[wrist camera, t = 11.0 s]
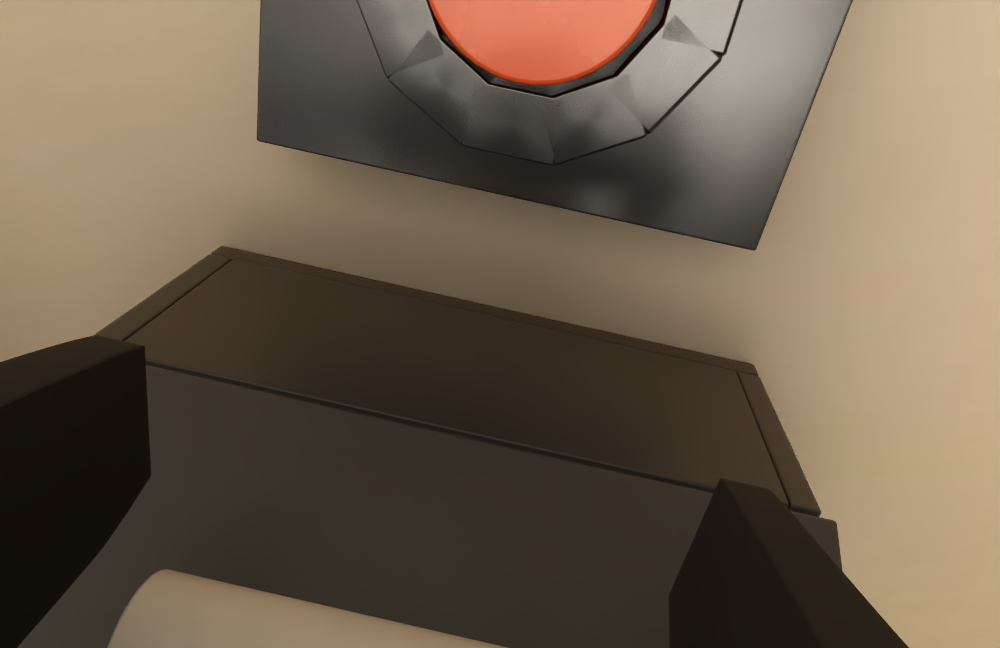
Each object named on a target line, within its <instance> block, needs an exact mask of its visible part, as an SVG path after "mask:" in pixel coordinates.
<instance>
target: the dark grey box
mask: <svg viewBox="0 0 1000 648" xmlns="http://www.w3.org/2000/svg"><path fill="white" fill-rule="evenodd" d="M95 335H99V336H104V337H108V338H112V339H117V340H121V341H126V342H130V343H134V344H139V345H143V346H145V361H146V365H148V366H153V367H157V368H161V369H166V370H170V371H175V372H179V373H183V374H188V375H192V376H197V377H201V378H206V379H210V380H214V381H219V382H223V383H228V384H232V385H236V386H241V387H245V388H250V389H254V390H259V391H263V392H267V393H272V394H276V395H281V396H285V397H289V398H294V399H298V400H303V401H307V402H312V403H316V404H320V405H325V406H329V407H334V408H338V409H343V410H347V411H351V412H356V413H360V414H365V415H369V416H373V417H378V418H382V419H387V420H391V421H396V422H400V423H404V424H409V425H413V426H418V427H422V428H426V429H431V430H435V431H440V432H444V433H449V434H453V435H457V436H462V437H466V438H471V439H475V440H479V441H484V442H488V443H493V444H497V445H502V446H506V447H510V448H515V449H519V450H524V451H528V452H533V453H537V454H541V455H546V456H550V457H555V458H559V459H563V460H568V461H572V462H577V463H581V464H586V465H590V466H594V467H599V468H603V469H608V470H612V471H616V472H621V473H625V474H630V475H634V476H639V477H643V478H647V479H652V480H656V481H661V482H665V483H669V484H674V485H678V486H683V487H687V488H692V489H696V490H700V491H705V492H709V493H714V491H715V489H716V486H717V484H718V482H719V480H720V478H723V479H727V480H732V481H736V482H741V483H745V484H749V485H754V486H758V487H762V488H767V489H770V490H771V491H772V492H773V493H774V494H775V495H776V496H777V497H778V498H779V499H780V500H781V501H782V502H783V504H784V505H785V506H786V507H787V508H788V509H789V510H790V511H793V512H798V513H802V514H806V515H811V516H815V517H819V516H820V514H821V510H820V508H819V506H818V504H817V502H816V499H815V497H814V495H813V493H812V491H811V488H810V486H809V484H808V482H807V480H806V478H805V475H804V473H803V471H802V469H801V467H800V464H799V462H798V460H797V458H796V456H795V454H794V451H793V449H792V447H791V445H790V443H789V440H788V438H787V436H786V434H785V432H784V430H783V427H782V425H781V423H780V421H779V419H778V416H777V414H776V412H775V410H774V408H773V405H772V403H771V401H770V399H769V397H768V395H767V392H766V390H765V388H764V386H763V384H762V381H761V379H760V377H758V373H757V371H756V369H755V366H753V365H751V364H747V363H742V362H738V361H734V360H729V359H725V358H720V357H716V356H711V355H707V354H702V353H698V352H693V351H689V350H684V349H680V348H675V347H671V346H666V345H662V344H657V343H653V342H648V341H644V340H640V339H635V338H631V337H626V336H622V335H617V334H613V333H608V332H604V331H599V330H595V329H590V328H586V327H581V326H577V325H572V324H568V323H563V322H559V321H554V320H550V319H545V318H541V317H537V316H532V315H528V314H523V313H519V312H514V311H510V310H505V309H501V308H496V307H492V306H487V305H483V304H478V303H474V302H469V301H465V300H460V299H456V298H451V297H447V296H443V295H438V294H434V293H429V292H425V291H420V290H416V289H411V288H407V287H402V286H398V285H393V284H389V283H384V282H380V281H375V280H371V279H366V278H362V277H357V276H353V275H349V274H344V273H340V272H335V271H331V270H326V269H322V268H317V267H313V266H308V265H304V264H299V263H295V262H290V261H286V260H281V259H277V258H272V257H268V256H263V255H259V254H255V253H250V252H246V251H241V250H237V249H232V248H228V247H223V246H222V247H220V248H218V249H217V250H215V251H214V252H212V254H211V255H208V256H207V257H205V258H204V259H202V260H201V261H199V262H198V263H197V264H195V265H194V266H192V267H191V268H189V269H188V270H187V271H185V272H184V273H182V274H181V275H179V276H178V277H177V278H175V279H174V280H172V281H171V282H169V283H168V284H166V285H165V286H164V287H162V288H161V289H159V290H158V291H156V292H155V293H154V294H152V295H151V296H149V297H148V298H146V299H145V300H144V301H142V302H141V303H139V304H138V305H136V306H135V307H134V308H132V309H131V310H129V311H128V312H126V313H125V314H123V315H122V316H121V317H119V318H118V319H116V320H115V321H113V322H112V323H111V324H109V325H108V326H106V327H105V328H103V329H102V330H101V331H99V332H98V333H96V334H95ZM93 336H94V335H93Z"/></svg>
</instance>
